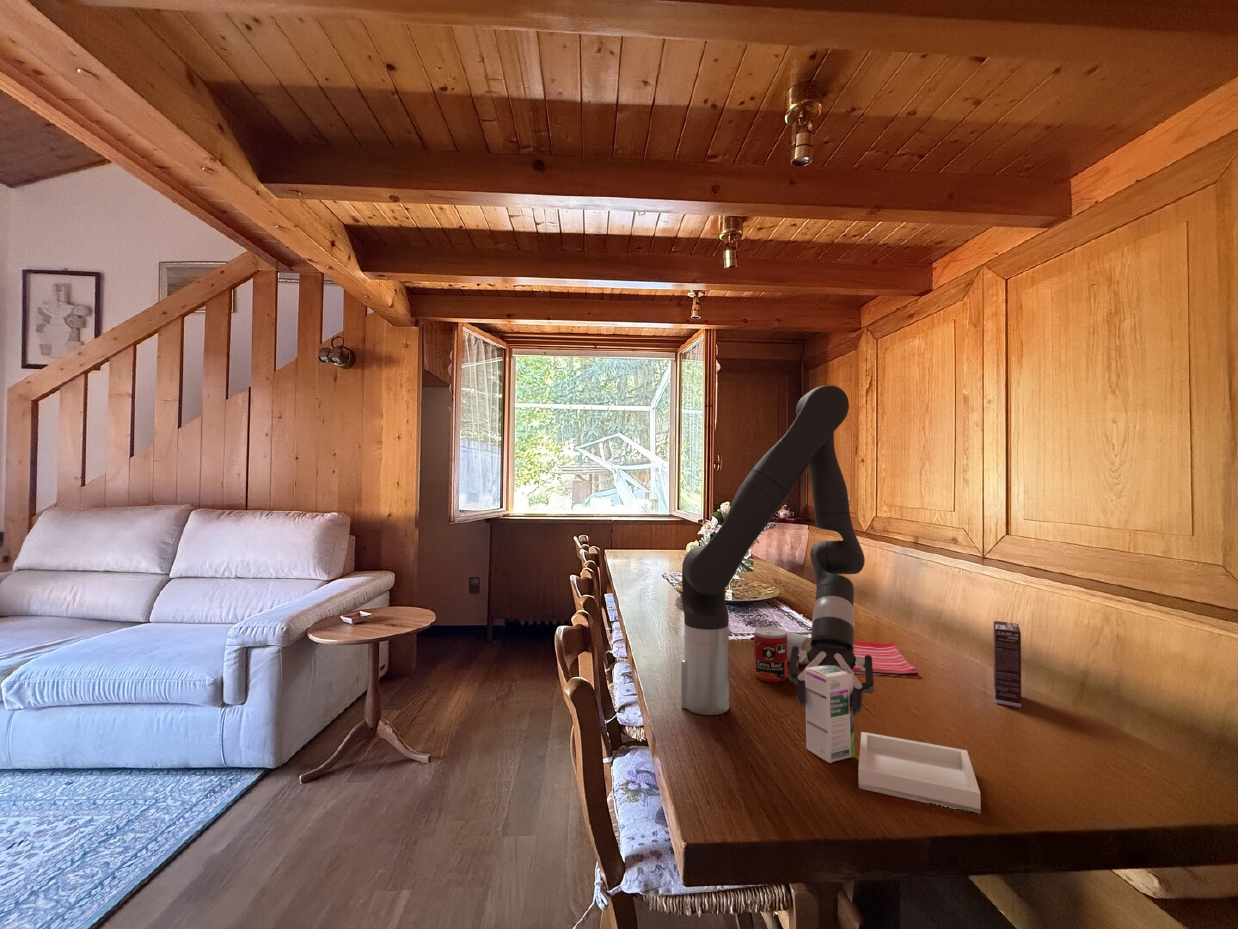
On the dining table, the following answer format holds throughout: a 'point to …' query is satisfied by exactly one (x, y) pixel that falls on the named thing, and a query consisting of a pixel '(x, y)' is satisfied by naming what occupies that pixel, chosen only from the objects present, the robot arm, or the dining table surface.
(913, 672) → the dish towel
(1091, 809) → the dining table surface
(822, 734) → the syrup box
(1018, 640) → the supplement box
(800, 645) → the ceramic mug
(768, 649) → the canned food
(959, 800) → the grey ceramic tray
